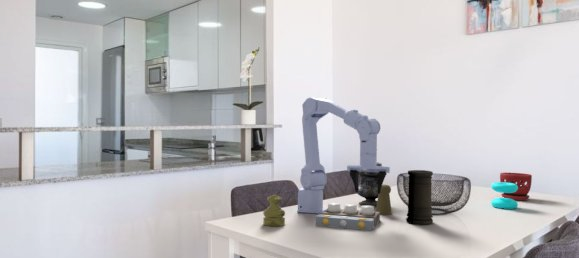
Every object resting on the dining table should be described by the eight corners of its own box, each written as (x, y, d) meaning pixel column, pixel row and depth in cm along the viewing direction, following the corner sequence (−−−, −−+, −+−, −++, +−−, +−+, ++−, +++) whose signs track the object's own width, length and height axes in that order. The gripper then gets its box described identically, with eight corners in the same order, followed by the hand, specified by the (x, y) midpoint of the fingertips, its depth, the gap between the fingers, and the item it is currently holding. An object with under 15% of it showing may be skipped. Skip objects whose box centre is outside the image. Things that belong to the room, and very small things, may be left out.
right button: (359, 217, 155) (360, 207, 155) (362, 214, 159) (362, 205, 159) (372, 218, 154) (372, 208, 153) (374, 215, 158) (374, 206, 158)
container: (433, 220, 160) (433, 170, 160) (432, 226, 151) (433, 173, 151) (407, 218, 163) (407, 169, 163) (405, 224, 154) (405, 171, 154)
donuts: (504, 185, 180) (486, 182, 190) (503, 210, 181) (485, 205, 190) (523, 184, 184) (504, 181, 193) (523, 209, 184) (504, 204, 193)
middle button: (342, 216, 157) (343, 206, 157) (345, 213, 161) (345, 203, 161) (355, 217, 156) (355, 206, 156) (357, 214, 160) (358, 204, 160)
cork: (391, 215, 169) (392, 186, 169) (375, 214, 170) (375, 185, 170) (391, 212, 175) (391, 184, 174) (375, 211, 176) (376, 183, 176)
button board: (320, 221, 157) (320, 213, 157) (328, 216, 166) (328, 207, 166) (375, 226, 150) (375, 217, 150) (379, 220, 160) (379, 211, 160)
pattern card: (315, 225, 151) (315, 216, 151) (318, 222, 155) (319, 213, 155) (371, 230, 145) (372, 220, 145) (374, 227, 149) (374, 218, 149)
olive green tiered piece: (268, 227, 147) (269, 197, 147) (259, 223, 154) (259, 194, 154) (288, 225, 151) (288, 195, 151) (279, 221, 157) (279, 192, 157)
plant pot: (537, 201, 201) (537, 175, 201) (507, 201, 201) (508, 174, 201) (522, 196, 214) (522, 171, 214) (494, 196, 214) (495, 171, 214)
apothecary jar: (391, 205, 189) (391, 162, 189) (370, 208, 183) (370, 163, 182) (370, 200, 199) (371, 160, 199) (350, 203, 193) (350, 161, 192)
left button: (326, 214, 159) (326, 204, 159) (329, 212, 163) (329, 202, 163) (338, 215, 158) (338, 205, 158) (341, 213, 162) (341, 203, 162)
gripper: (345, 153, 155) (344, 192, 155) (387, 155, 150) (387, 195, 150) (349, 152, 161) (349, 190, 162) (390, 153, 156) (390, 192, 157)
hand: (367, 192), depth 156 cm, fingers open, 7 cm apart
